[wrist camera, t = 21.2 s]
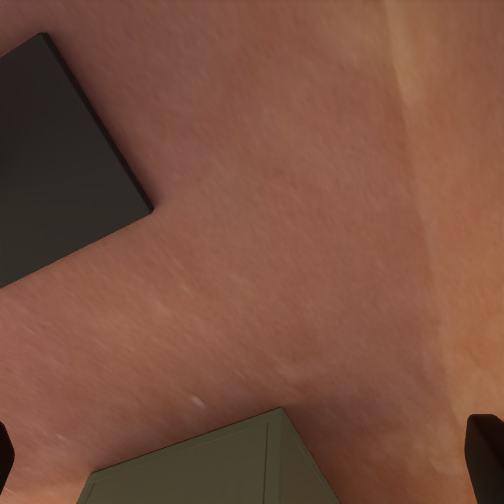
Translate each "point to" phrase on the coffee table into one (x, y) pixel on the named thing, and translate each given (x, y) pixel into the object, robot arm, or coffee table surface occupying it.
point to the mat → (55, 165)
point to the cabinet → (219, 470)
